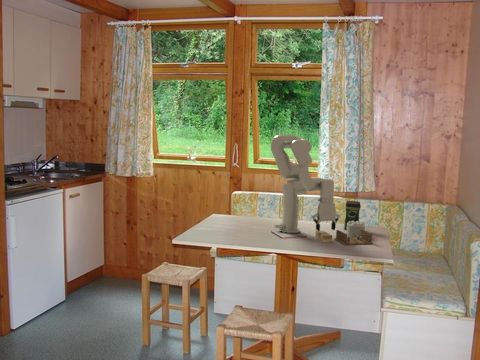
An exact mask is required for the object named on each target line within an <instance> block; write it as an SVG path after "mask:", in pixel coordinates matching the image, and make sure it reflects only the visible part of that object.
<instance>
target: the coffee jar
mask: <svg viewBox="0 0 480 360" xmlns="http://www.w3.org/2000/svg"><path fill="white" fill-rule="evenodd" d="M344 209H345V218H344V222H343V223H344V224H343V229H344V230H346V231H347V223H348V222H349V221H355V222H356V221H359V222H360V211H361V202H360V201H355V200H347V201H346V202H345V206H344Z"/></svg>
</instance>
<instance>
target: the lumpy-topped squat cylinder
mask: <svg viewBox="0 0 480 360" xmlns="http://www.w3.org/2000/svg"><path fill="white" fill-rule="evenodd" d="M361 230H365V231H366V225H365V223H364V222H363V221H361V222H360V220H359V221H356V222H355V221H349V222H348V223H347V230H346V234H347V238H348V237H350V238H357V235H360V234H361Z"/></svg>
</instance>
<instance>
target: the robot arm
mask: <svg viewBox="0 0 480 360" xmlns="http://www.w3.org/2000/svg"><path fill="white" fill-rule="evenodd" d="M312 148H313V147H312V143H311V141H310V140H309V139H306V138H303V137H301V136H297V135H295V134H278V135H275V136H274V137H273V138H272V139H271V142H270V151H271V153H272V156H273V159H274V160H275V163H276V166H277V169H278V172H279V175H280V177H281V178H282V179H284V180H287V181H285V182H284V183H283V185H282V196H283V204H282V206H283V207H282V220H281V222H280V223H279V224H274V229H279V231H280V232H281V231H282V233H285V232H287V233H286V234H297V233H298V234H299V233H300V231H301V229H300V228H298V224H299V213H300V212H299V209H300V208H299V207H300V201H299V198H298V196H300V195H304V194H306V193H307V192H318V191H320V194H319V198H318V199H317V201H318V202H319V203H318V206H317V213H315V214H313V215H312V216H311V217H312V220H313V222H314V223H315V231H321V224H320V223H321V222H326V221H327V222H329V221H331V230H333V231H335V230H336V226H337V225H336V224H337V222H338V221H339V220H340V217H341V215H340V214H338V213H337V211H336V203H334V188H335V181H334V179H330V178H322V177H313V178H312V176H311V174H310V171H309V167H310V165H311V164H312V163H313V158H312V157H311V154H310V152H311V151H312ZM285 149H290V150H291V152H292V155H293V156H294V158H295V160H296V162H293V163H292V162H291V160H290V157H289V155H288V153H287V152H286V151H285Z"/></svg>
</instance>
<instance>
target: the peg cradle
mask: <svg viewBox="0 0 480 360" xmlns="http://www.w3.org/2000/svg"><path fill="white" fill-rule="evenodd" d="M335 230H336V229H335ZM335 234H336V235H335V238H334V241H335V242H337V243H340V244H341V245H344V246H357V245H359V246H360V245H361V246H362V245H374V244H373V241H372V239H373V233H372V232H370V231H367V230H366V229H365V230H361V234H360V235H357V238H351V237H348V236H347V234H346V233H345V232H343V231H341V230H339V229H337V230H336V233H335Z"/></svg>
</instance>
